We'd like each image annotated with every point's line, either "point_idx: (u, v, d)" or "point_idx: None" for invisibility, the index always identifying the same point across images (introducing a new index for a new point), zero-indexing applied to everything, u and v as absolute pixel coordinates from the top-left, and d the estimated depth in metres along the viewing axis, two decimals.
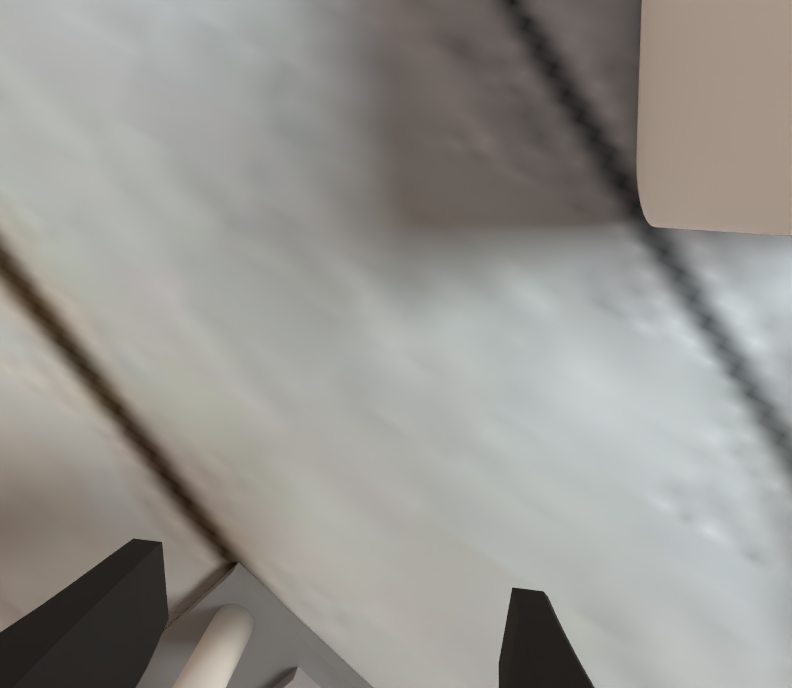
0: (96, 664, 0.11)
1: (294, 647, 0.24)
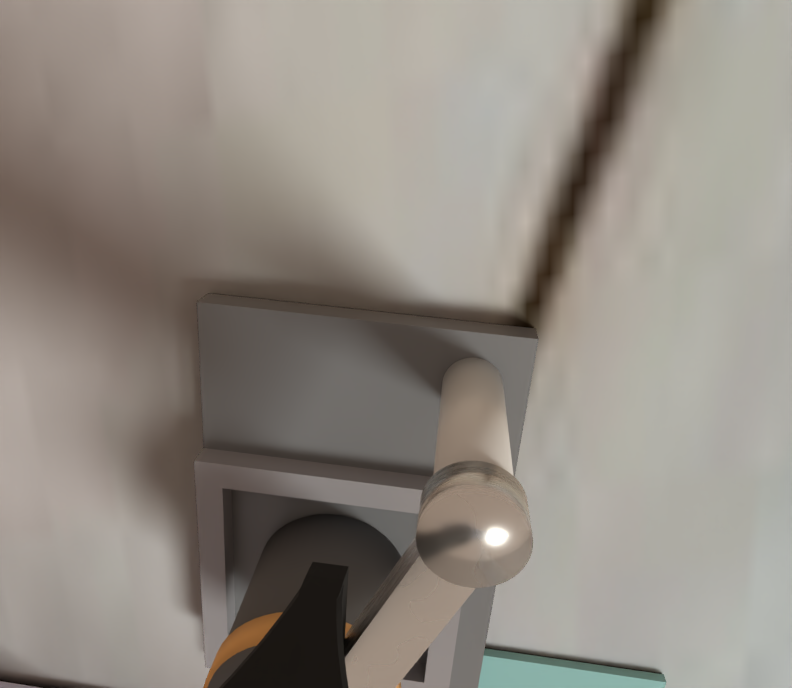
0: None
1: None
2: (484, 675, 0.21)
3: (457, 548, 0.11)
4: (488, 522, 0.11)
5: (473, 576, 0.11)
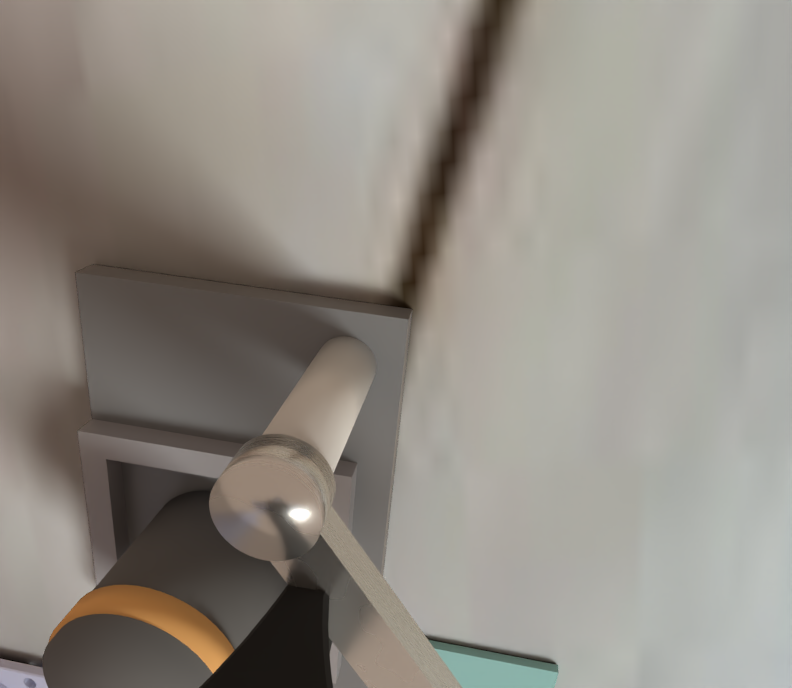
0: None
1: (376, 445, 0.17)
2: None
3: (266, 529, 0.11)
4: (248, 493, 0.11)
5: (309, 532, 0.11)
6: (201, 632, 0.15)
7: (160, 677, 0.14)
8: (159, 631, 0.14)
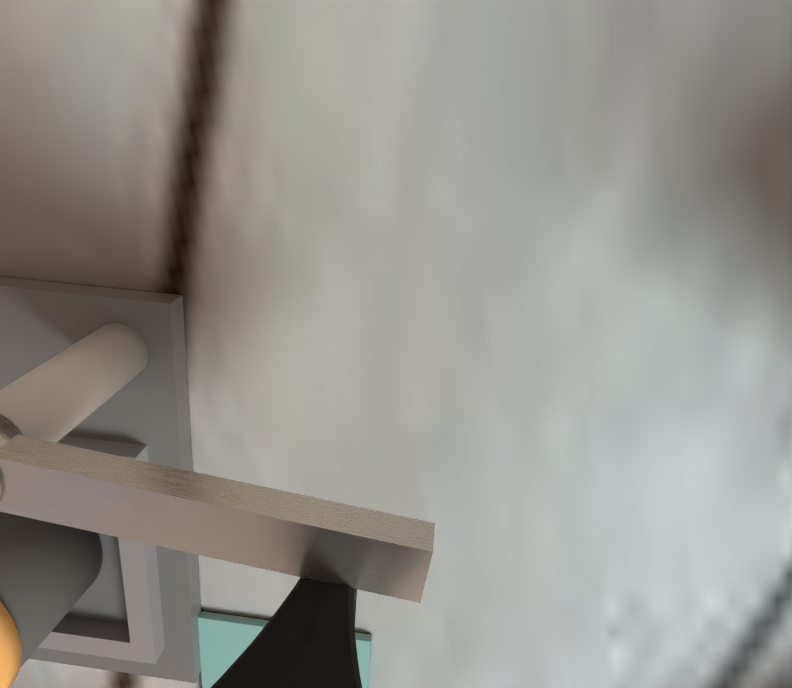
0: None
1: (161, 427, 0.18)
2: (205, 638, 0.22)
3: None
4: None
5: None
6: None
7: None
8: None
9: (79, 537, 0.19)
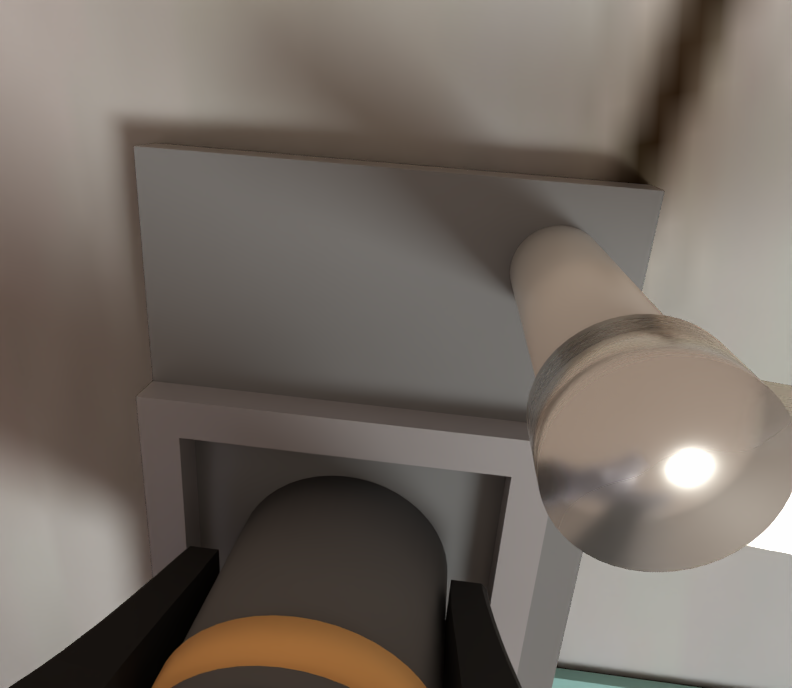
0: None
1: None
2: None
3: (692, 495, 0.05)
4: (604, 461, 0.05)
5: (770, 435, 0.05)
6: (317, 643, 0.09)
7: None
8: (249, 669, 0.08)
9: (408, 525, 0.12)
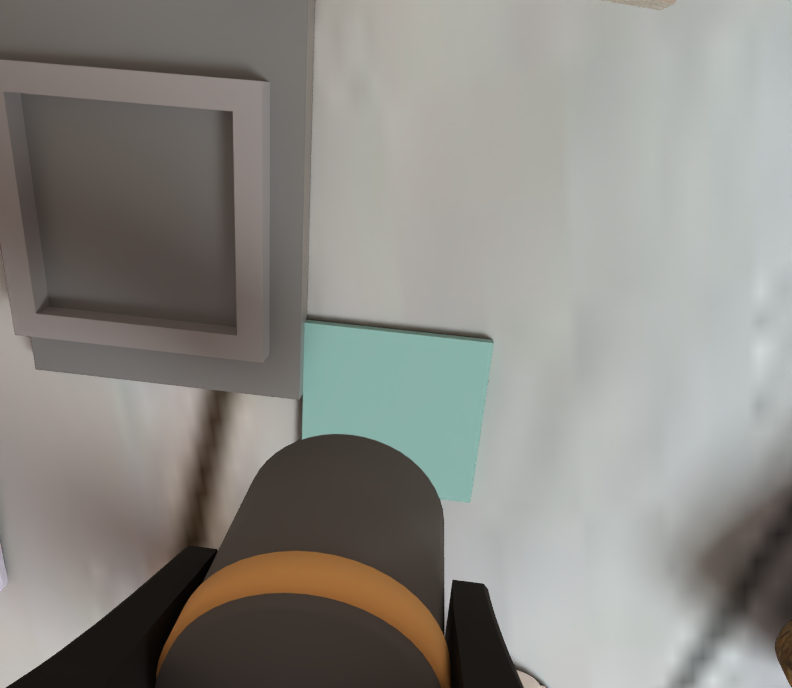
0: None
1: (288, 55, 0.17)
2: (310, 349, 0.20)
3: None
4: None
5: None
6: (317, 570, 0.10)
7: (304, 661, 0.09)
8: (256, 597, 0.09)
9: (400, 471, 0.13)
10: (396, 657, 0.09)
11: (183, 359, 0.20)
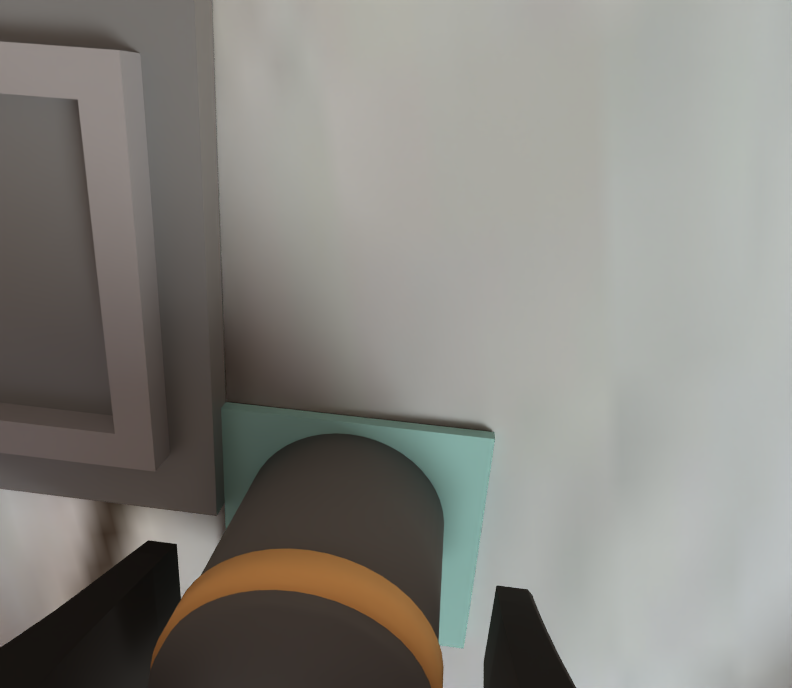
0: (113, 666, 0.11)
1: (165, 10, 0.10)
2: (232, 444, 0.14)
3: None
4: None
5: None
6: (309, 568, 0.10)
7: (295, 659, 0.09)
8: (248, 594, 0.09)
9: (399, 472, 0.13)
10: (385, 657, 0.09)
11: (49, 459, 0.14)
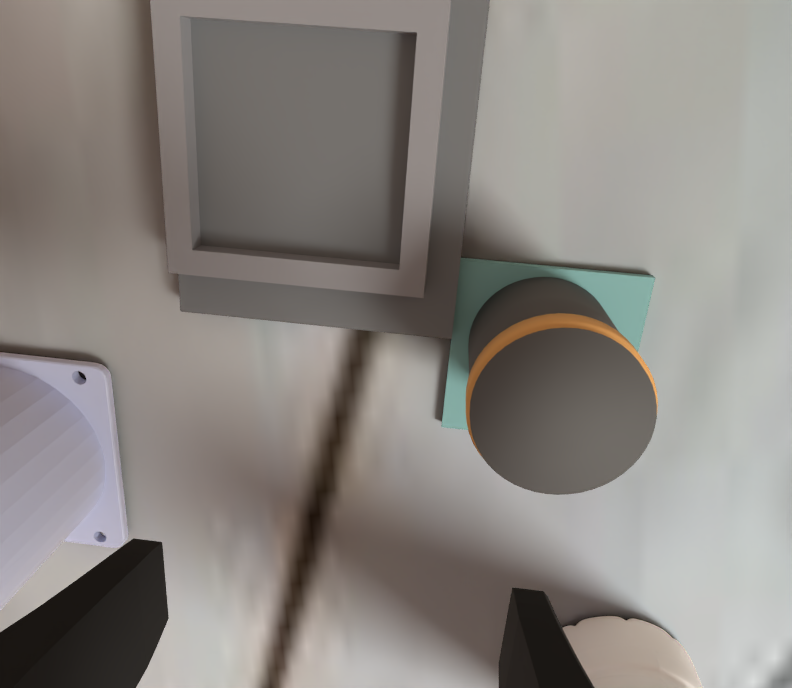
0: (95, 664, 0.11)
1: None
2: (464, 287, 0.20)
3: None
4: None
5: None
6: (577, 320, 0.15)
7: (574, 370, 0.15)
8: (546, 330, 0.15)
9: (591, 298, 0.19)
10: (633, 366, 0.15)
11: (334, 298, 0.20)
